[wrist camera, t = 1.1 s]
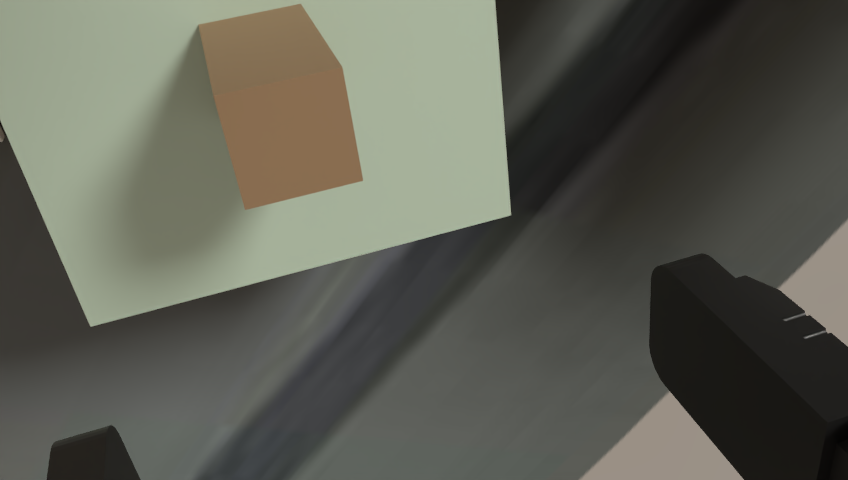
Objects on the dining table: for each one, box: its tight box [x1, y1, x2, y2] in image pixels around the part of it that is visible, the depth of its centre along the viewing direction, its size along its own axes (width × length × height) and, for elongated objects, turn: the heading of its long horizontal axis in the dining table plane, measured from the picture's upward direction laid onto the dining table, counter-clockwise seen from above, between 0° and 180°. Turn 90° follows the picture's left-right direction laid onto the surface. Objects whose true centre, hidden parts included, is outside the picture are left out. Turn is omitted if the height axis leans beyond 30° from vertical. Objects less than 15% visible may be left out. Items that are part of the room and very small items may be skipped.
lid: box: [0, 0, 511, 327], centre depth 22 cm, size 15×15×7 cm
